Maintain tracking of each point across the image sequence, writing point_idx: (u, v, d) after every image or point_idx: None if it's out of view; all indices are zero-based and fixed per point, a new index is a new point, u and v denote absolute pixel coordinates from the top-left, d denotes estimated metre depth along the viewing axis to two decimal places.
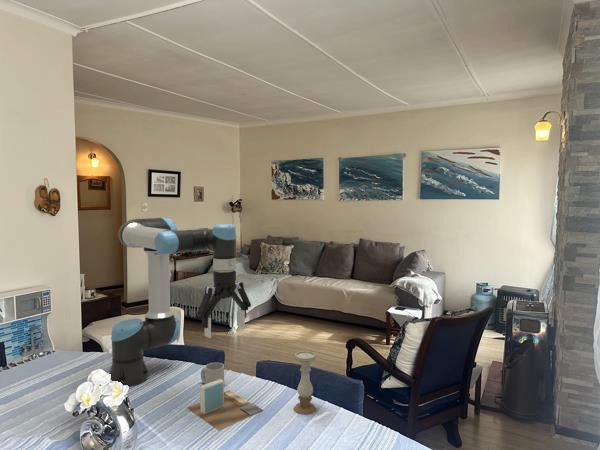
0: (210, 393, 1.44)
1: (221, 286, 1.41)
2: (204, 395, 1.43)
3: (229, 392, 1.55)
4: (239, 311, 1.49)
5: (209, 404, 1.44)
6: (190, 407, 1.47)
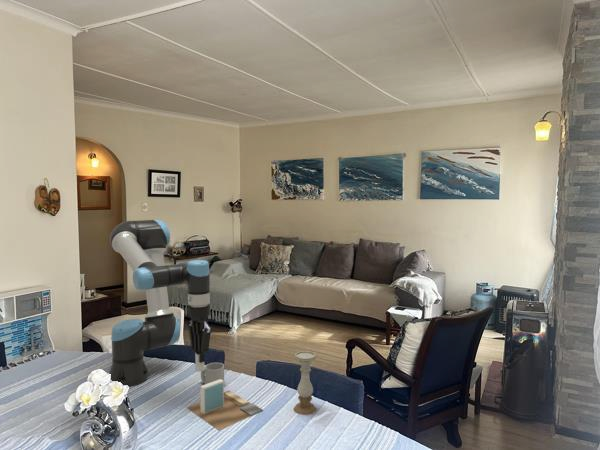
0: (210, 393, 1.44)
1: None
2: (204, 395, 1.43)
3: (229, 392, 1.55)
4: None
5: (209, 404, 1.44)
6: (190, 407, 1.47)
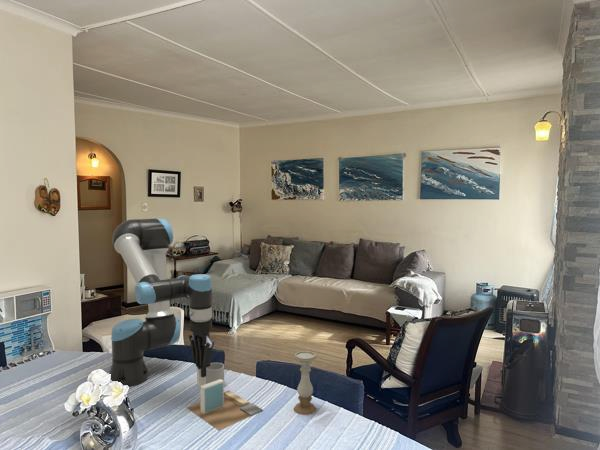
0: (210, 393, 1.44)
1: None
2: (204, 395, 1.43)
3: (229, 392, 1.55)
4: None
5: (209, 404, 1.44)
6: (190, 407, 1.47)
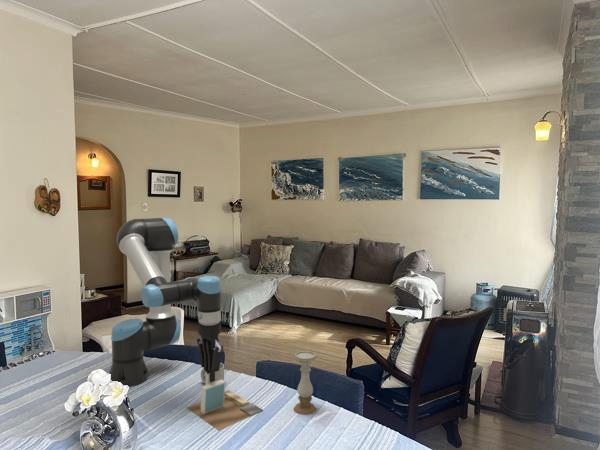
0: (211, 394, 1.44)
1: None
2: (205, 396, 1.42)
3: (229, 392, 1.55)
4: None
5: (209, 404, 1.44)
6: (190, 407, 1.47)
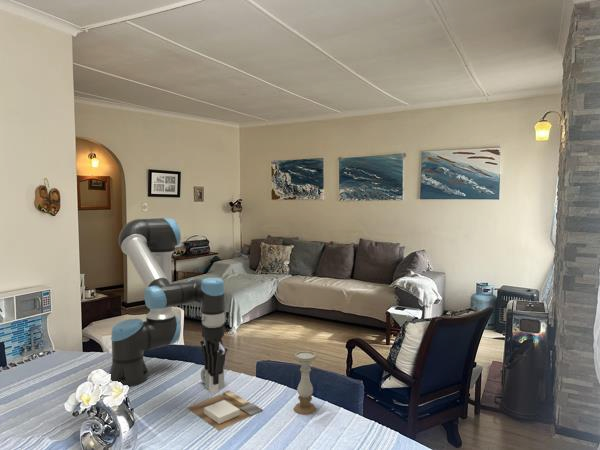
0: None
1: None
2: (215, 420, 1.38)
3: (229, 392, 1.55)
4: None
5: None
6: (190, 407, 1.47)
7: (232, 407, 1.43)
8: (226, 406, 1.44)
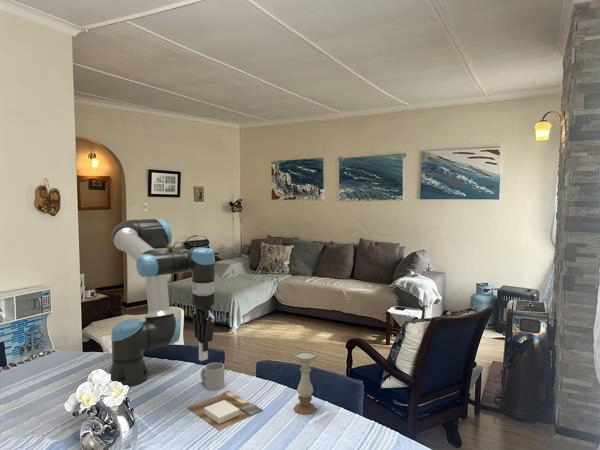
0: None
1: None
2: (215, 420, 1.38)
3: (229, 392, 1.55)
4: None
5: None
6: (190, 407, 1.47)
7: (232, 407, 1.43)
8: (226, 406, 1.44)
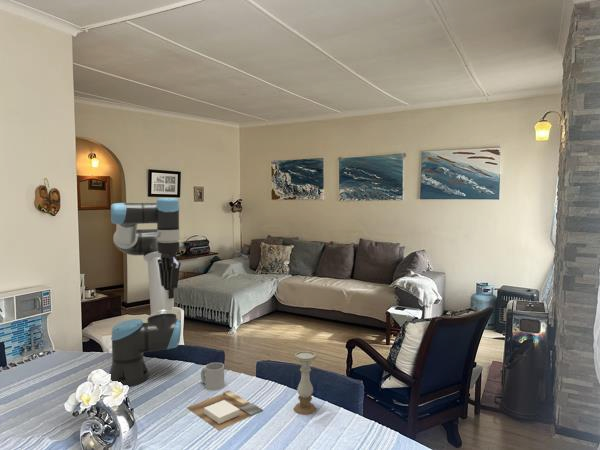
0: None
1: (162, 253, 1.53)
2: (215, 420, 1.38)
3: (229, 392, 1.55)
4: None
5: None
6: (190, 407, 1.47)
7: (232, 407, 1.43)
8: (226, 406, 1.44)
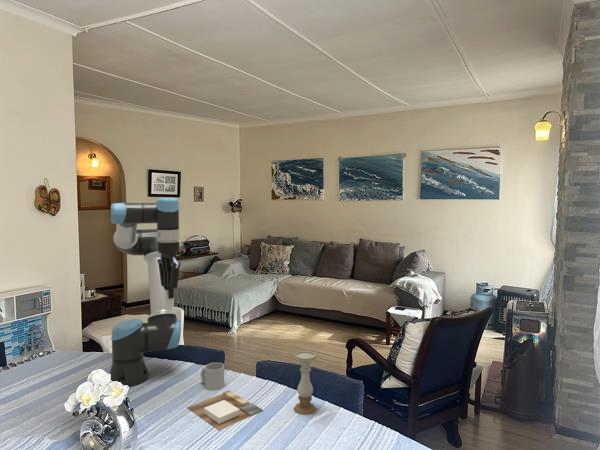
0: None
1: (161, 253, 1.53)
2: (215, 420, 1.38)
3: (229, 392, 1.55)
4: None
5: None
6: (190, 407, 1.47)
7: (232, 407, 1.43)
8: (226, 406, 1.44)
